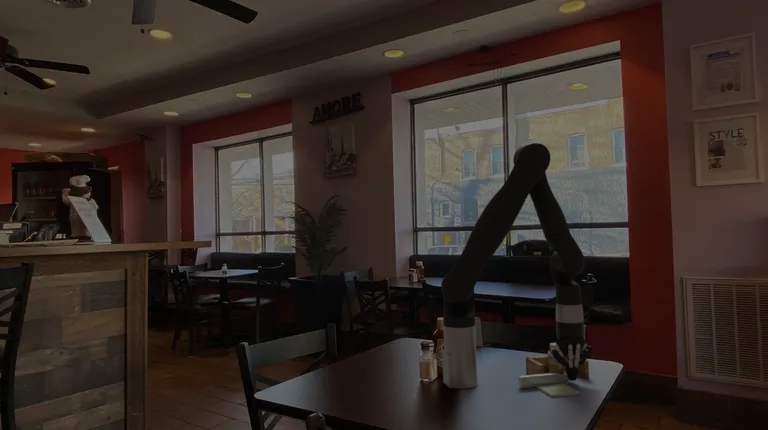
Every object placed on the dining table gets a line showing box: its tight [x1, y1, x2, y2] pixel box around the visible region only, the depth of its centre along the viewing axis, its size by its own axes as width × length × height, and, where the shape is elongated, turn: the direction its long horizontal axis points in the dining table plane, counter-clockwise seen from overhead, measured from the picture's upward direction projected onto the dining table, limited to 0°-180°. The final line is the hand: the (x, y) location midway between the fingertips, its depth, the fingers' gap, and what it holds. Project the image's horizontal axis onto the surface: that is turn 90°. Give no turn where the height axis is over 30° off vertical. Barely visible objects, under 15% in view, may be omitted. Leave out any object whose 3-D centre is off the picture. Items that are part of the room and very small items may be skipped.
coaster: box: [536, 384, 580, 398], centre depth 141 cm, size 8×8×1 cm
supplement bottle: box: [547, 342, 566, 373], centre depth 155 cm, size 5×5×10 cm
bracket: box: [525, 355, 590, 379], centre depth 155 cm, size 15×9×5 cm, turn 100°
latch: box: [518, 369, 568, 389], centre depth 147 cm, size 14×2×4 cm, turn 100°
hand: (572, 379), depth 148 cm, fingers closed
